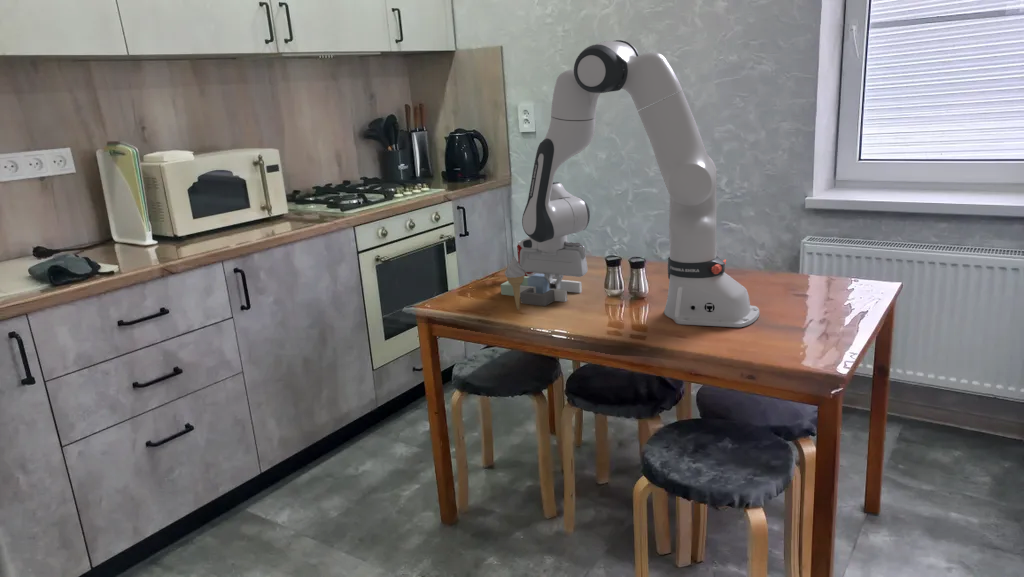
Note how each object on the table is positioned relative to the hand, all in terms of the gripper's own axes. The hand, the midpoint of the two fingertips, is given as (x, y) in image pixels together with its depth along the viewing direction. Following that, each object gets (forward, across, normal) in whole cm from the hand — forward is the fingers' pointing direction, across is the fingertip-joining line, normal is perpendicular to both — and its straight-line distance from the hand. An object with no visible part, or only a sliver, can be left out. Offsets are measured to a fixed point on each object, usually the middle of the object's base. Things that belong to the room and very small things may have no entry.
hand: (554, 288), depth 198 cm
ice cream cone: (+2, +3, +15) cm, 15 cm away
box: (+2, +4, 0) cm, 4 cm away
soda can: (+2, +16, -11) cm, 19 cm away
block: (+2, +5, 0) cm, 5 cm away
